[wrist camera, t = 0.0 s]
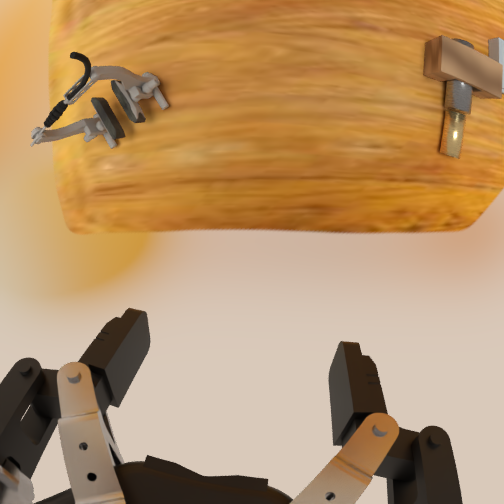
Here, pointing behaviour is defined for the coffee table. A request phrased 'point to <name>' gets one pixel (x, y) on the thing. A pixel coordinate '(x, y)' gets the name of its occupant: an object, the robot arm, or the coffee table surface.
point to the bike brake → (102, 103)
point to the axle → (459, 91)
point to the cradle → (497, 54)
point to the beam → (463, 66)
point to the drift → (453, 134)
